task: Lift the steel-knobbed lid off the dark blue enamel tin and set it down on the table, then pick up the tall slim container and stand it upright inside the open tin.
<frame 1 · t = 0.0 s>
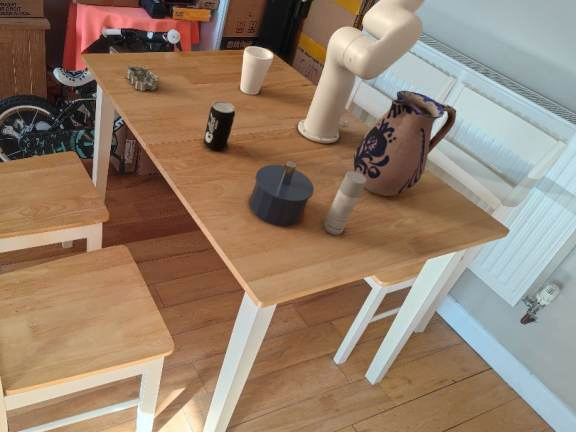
hand: (289, 10, 122), 37 cm above the table, tool pointing down, fingers open, 9 cm apart
tin: (275, 208, 123), on the table
beverage can: (214, 146, 140), on the table
egg carton: (141, 83, 161), on the table
ceramic pitcher: (381, 185, 139), on the table
lid: (284, 183, 118), point 7 cm above the table, touching tin
foam cup: (249, 90, 170), on the table
container: (332, 228, 121), on the table
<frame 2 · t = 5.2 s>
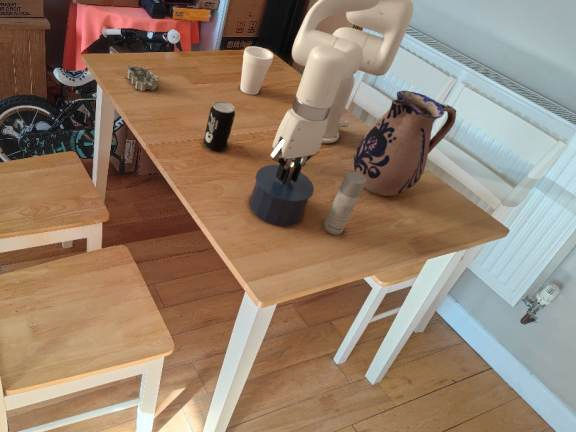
hand: (286, 178, 118), 9 cm above the table, tool pointing down, fingers closed on lid, 2 cm apart
lid: (284, 183, 118), point 8 cm above the table, touching gripper, tin
everything else where it was.
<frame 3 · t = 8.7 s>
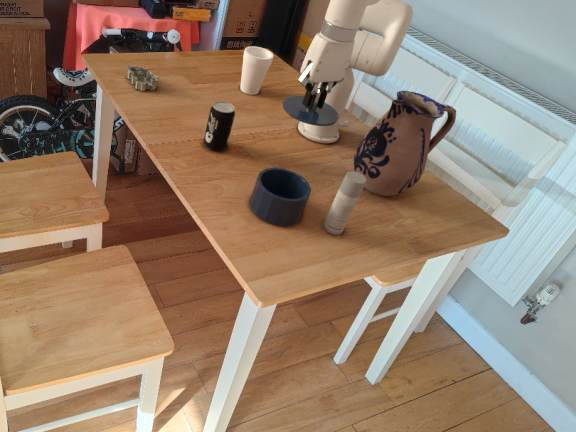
hand: (312, 105, 123), 20 cm above the table, tool pointing down, fingers closed on lid, 2 cm apart
lid: (310, 111, 124), point 19 cm above the table, touching gripper
everything else where it was.
when the fingers open (2 cm above the table, at t = 12.2 s): lid stays where it is, point 1 cm above the table.
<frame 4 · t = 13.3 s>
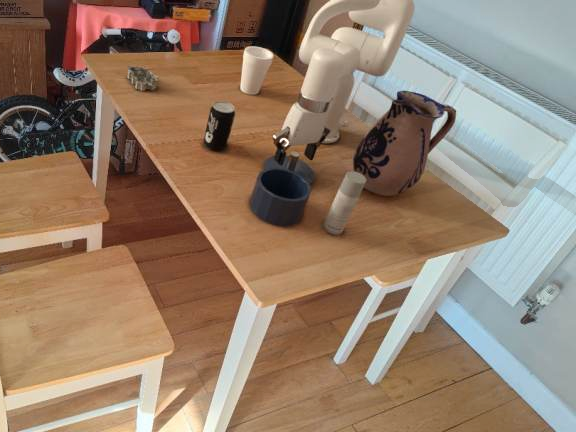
hand: (293, 159, 134), 4 cm above the table, tool pointing down, fingers open, 9 cm apart
lid: (288, 171, 136), point 1 cm above the table
everything else where it was.
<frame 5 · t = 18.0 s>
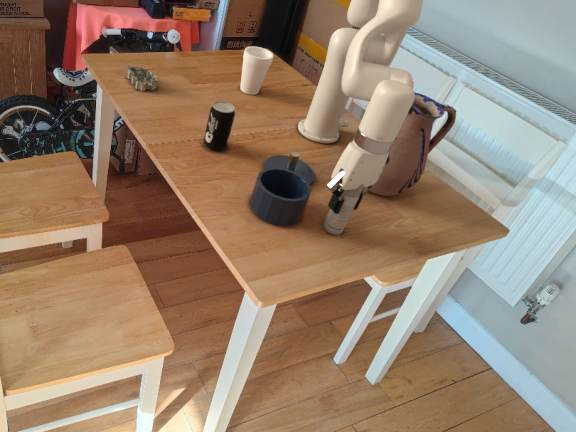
hand: (342, 207, 117), 6 cm above the table, tool pointing down, fingers closed on container, 4 cm apart
container: (332, 228, 121), on the table, touching gripper
everything else where it was.
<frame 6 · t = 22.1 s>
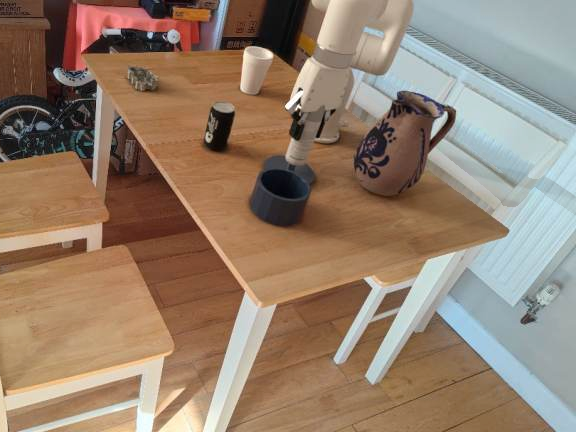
hand: (304, 135, 110), 21 cm above the table, tool pointing down, fingers closed on container, 4 cm apart
container: (295, 160, 114), point 14 cm above the table, touching gripper
everything else where it was.
when the fingers open (7 cm above the table, at t = 26.2 s): container stays where it is, resting on tin.
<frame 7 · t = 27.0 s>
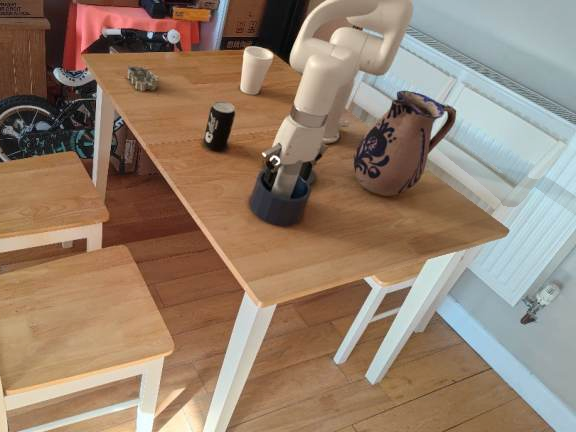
hand: (285, 180, 118), 8 cm above the table, tool pointing down, fingers open, 9 cm apart
container: (276, 207, 123), resting on tin
everything else where it was.
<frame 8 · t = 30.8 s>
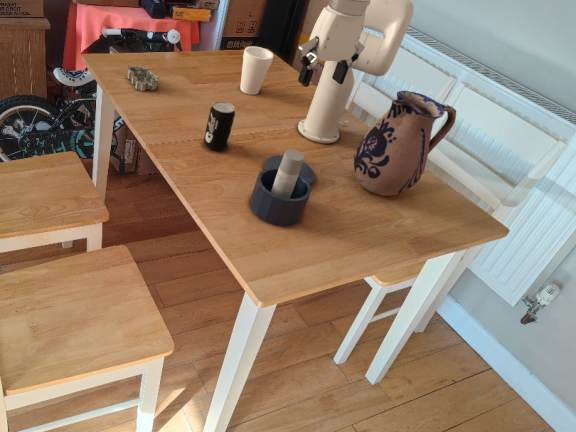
hand: (320, 82, 114), 28 cm above the table, tool pointing down, fingers open, 9 cm apart
nothing on the table moved.
at the end: lid inside the target area (0.1 cm from its centre), point 0.6 cm above the table; container inside the target area in the tin (0.1 cm from its centre), point 0.3 cm above the tin's base; container tilted 0° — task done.
